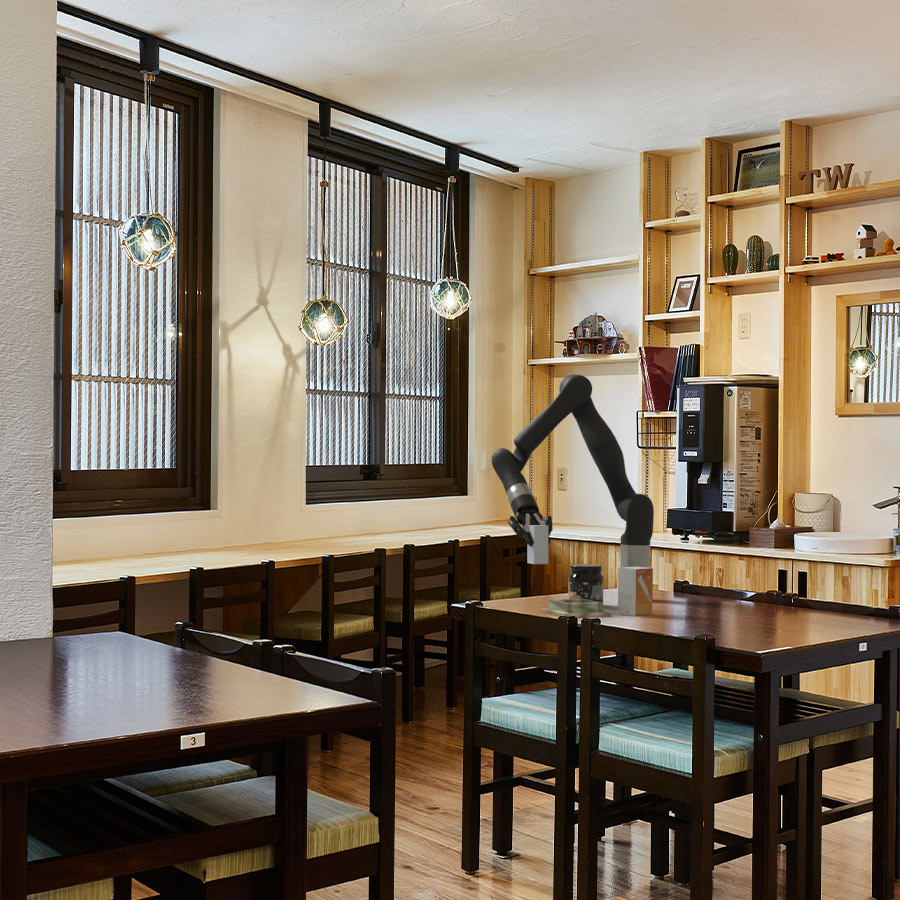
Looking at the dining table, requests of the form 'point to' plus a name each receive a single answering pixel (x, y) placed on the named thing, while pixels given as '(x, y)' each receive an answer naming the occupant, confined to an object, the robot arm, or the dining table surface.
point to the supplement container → (586, 582)
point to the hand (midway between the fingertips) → (540, 544)
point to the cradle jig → (576, 608)
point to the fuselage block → (538, 545)
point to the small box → (635, 591)
